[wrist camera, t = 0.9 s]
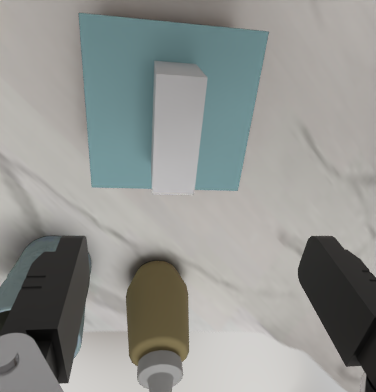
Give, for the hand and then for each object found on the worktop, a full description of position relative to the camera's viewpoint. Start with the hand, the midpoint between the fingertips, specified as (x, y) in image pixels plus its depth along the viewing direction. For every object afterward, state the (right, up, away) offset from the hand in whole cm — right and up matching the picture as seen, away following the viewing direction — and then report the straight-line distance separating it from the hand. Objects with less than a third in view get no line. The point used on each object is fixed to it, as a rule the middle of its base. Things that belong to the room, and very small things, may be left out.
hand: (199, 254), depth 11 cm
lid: (-2, +9, +15) cm, 18 cm away
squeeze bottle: (-5, -9, +33) cm, 34 cm away
